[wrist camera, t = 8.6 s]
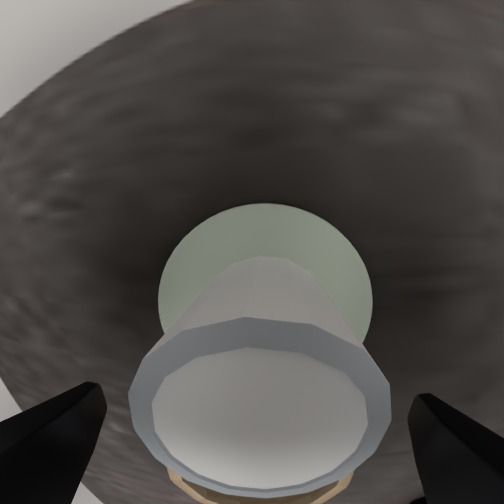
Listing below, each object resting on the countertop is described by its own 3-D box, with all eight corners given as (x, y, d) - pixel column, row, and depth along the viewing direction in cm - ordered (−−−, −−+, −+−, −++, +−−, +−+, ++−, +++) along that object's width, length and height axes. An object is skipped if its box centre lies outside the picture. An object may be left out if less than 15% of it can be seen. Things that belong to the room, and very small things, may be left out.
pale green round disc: (352, 390, 15) (355, 397, 15) (173, 385, 16) (170, 392, 15) (378, 206, 13) (383, 208, 12) (155, 203, 13) (150, 204, 13)
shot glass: (201, 381, 15) (165, 494, 8) (176, 247, 13) (91, 321, 6) (340, 374, 14) (372, 489, 7) (343, 234, 13) (413, 304, 6)
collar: (333, 498, 18) (335, 512, 17) (184, 493, 19) (180, 507, 17) (368, 394, 15) (375, 412, 14) (157, 388, 16) (149, 405, 14)
